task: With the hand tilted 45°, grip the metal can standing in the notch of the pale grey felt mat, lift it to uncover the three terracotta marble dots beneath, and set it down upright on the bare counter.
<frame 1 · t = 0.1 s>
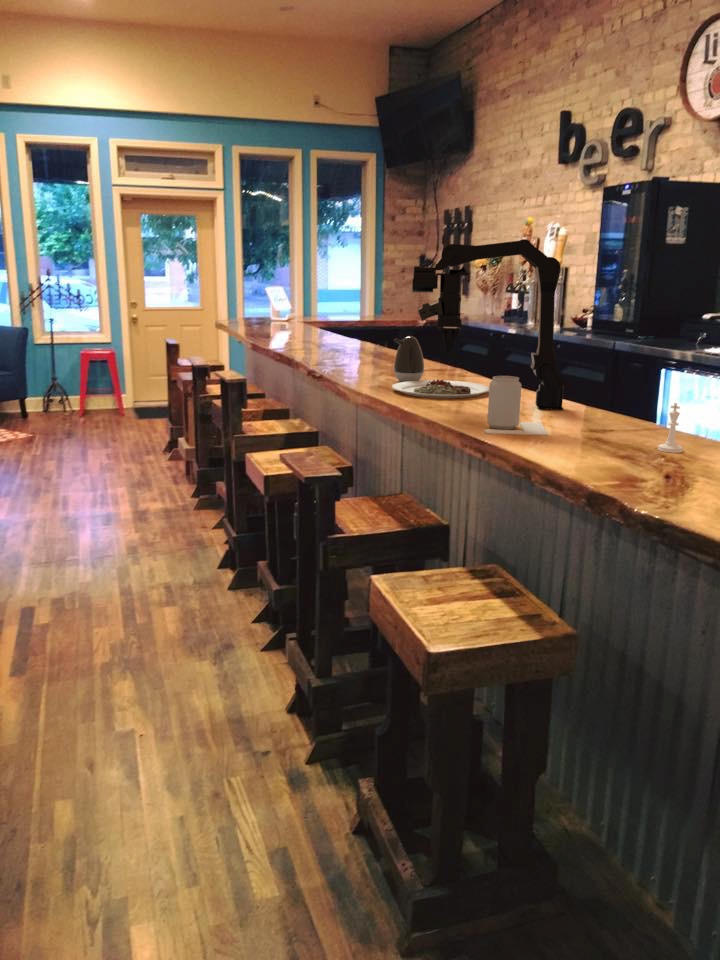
hand: (447, 351, 211), 15 cm above the table, tool pointing down, fingers open, 9 cm apart
chess piece: (670, 451, 163), on the table
pump dispenser: (408, 382, 260), on the table
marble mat: (502, 427, 185), on the table
plated food: (440, 393, 239), on the table
can: (502, 427, 185), on the table, touching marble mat
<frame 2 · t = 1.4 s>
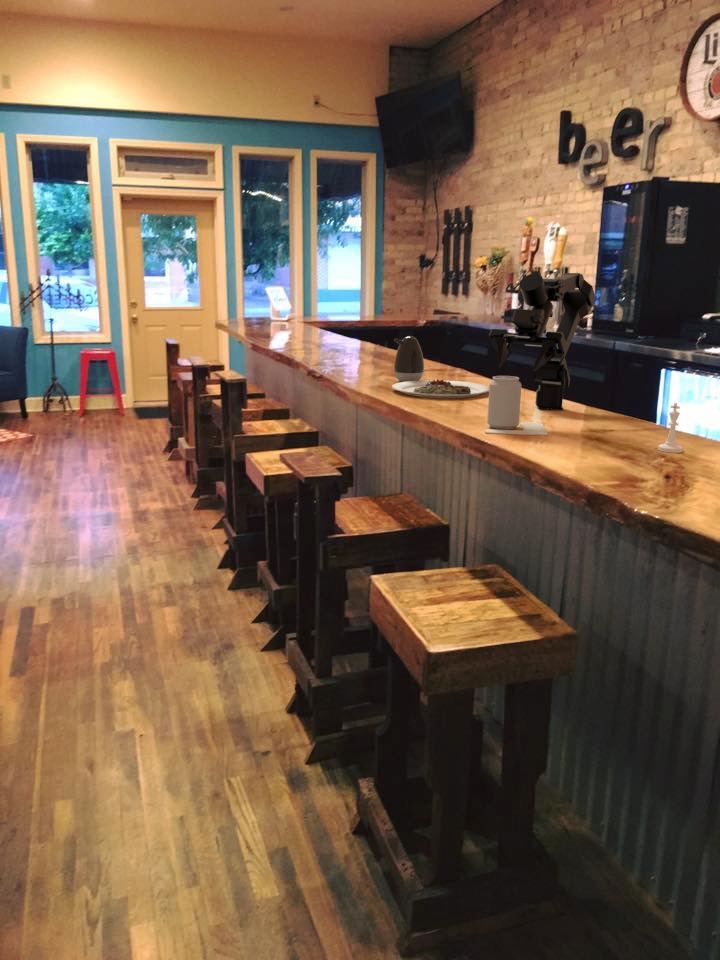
hand: (516, 368, 189), 13 cm above the table, tool tilted 45°, fingers open, 9 cm apart
nothing on the table moved.
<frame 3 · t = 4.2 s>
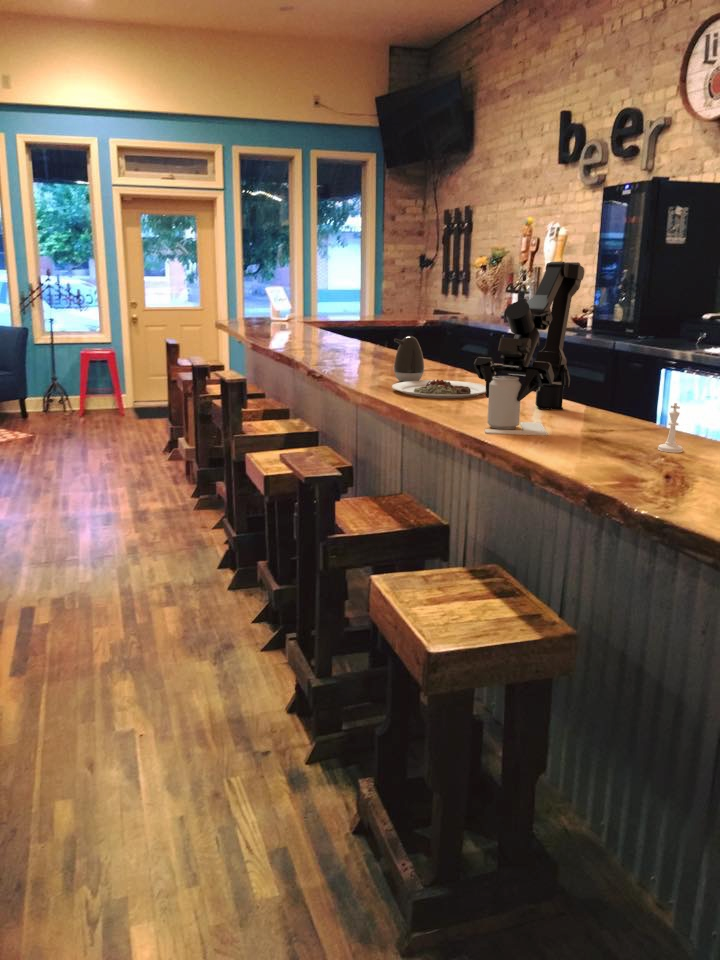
hand: (502, 398, 182), 7 cm above the table, tool tilted 45°, fingers closed on can, 7 cm apart
can: (502, 427, 185), on the table, touching gripper, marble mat
everything else where it was.
when the fingers open (8 cm above the table, at t = 9.2 s): can drops 1 cm, on the table.
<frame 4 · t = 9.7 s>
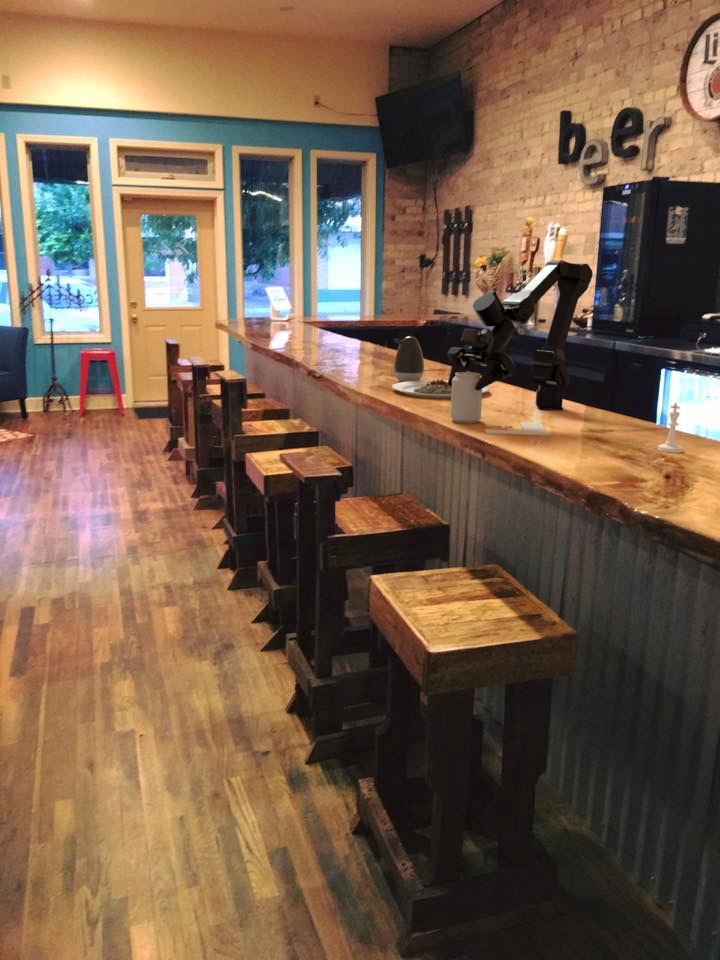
hand: (462, 387, 189), 9 cm above the table, tool tilted 45°, fingers open, 9 cm apart
can: (465, 421, 192), on the table
everything else where it was.
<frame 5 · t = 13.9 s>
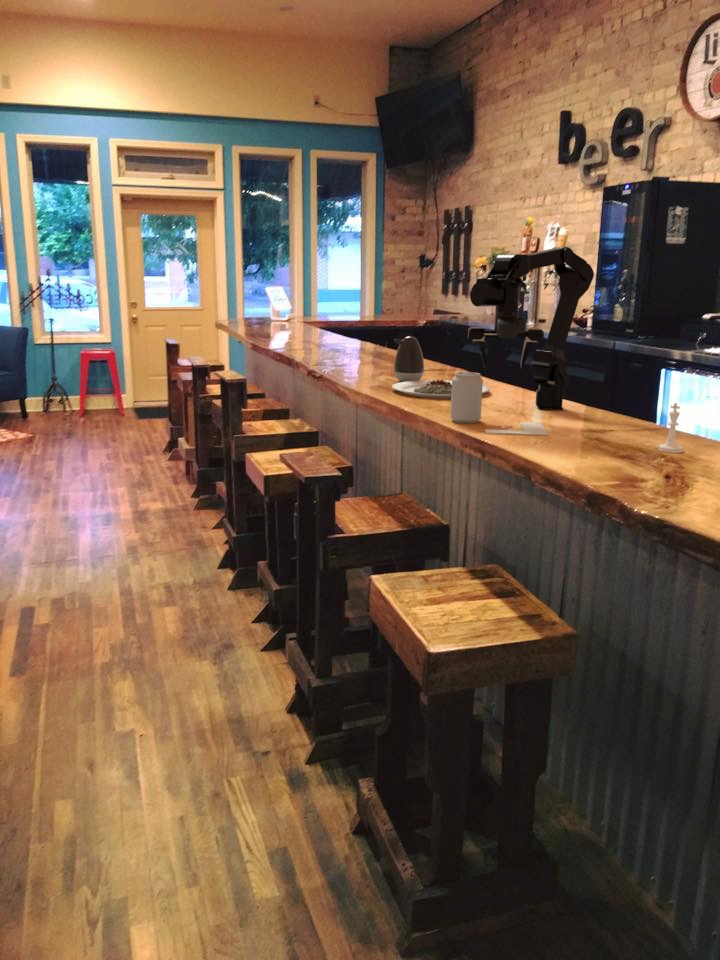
hand: (503, 368, 199), 12 cm above the table, tool pointing down, fingers open, 9 cm apart
nothing on the table moved.
at the end: can inside the target area (0.2 cm from its centre), on the table; can tilted 0°; the gripper is holding nothing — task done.
